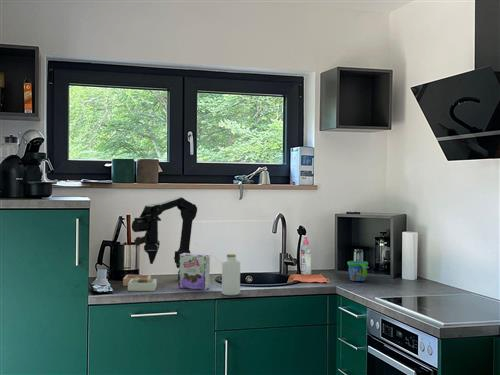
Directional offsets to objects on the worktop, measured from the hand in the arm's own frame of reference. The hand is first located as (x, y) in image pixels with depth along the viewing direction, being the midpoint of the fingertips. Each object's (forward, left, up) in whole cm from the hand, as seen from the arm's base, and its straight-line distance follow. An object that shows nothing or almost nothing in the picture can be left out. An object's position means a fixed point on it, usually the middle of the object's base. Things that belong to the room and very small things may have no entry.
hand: (152, 262), depth 294 cm
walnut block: (+3, +10, -11) cm, 15 cm away
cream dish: (+3, +11, -11) cm, 16 cm away
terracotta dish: (+7, -2, -11) cm, 14 cm away
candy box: (-21, +7, -12) cm, 25 cm away
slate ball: (+7, -2, -11) cm, 13 cm away
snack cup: (-106, -16, -12) cm, 108 cm away
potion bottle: (-38, +22, -12) cm, 45 cm away
